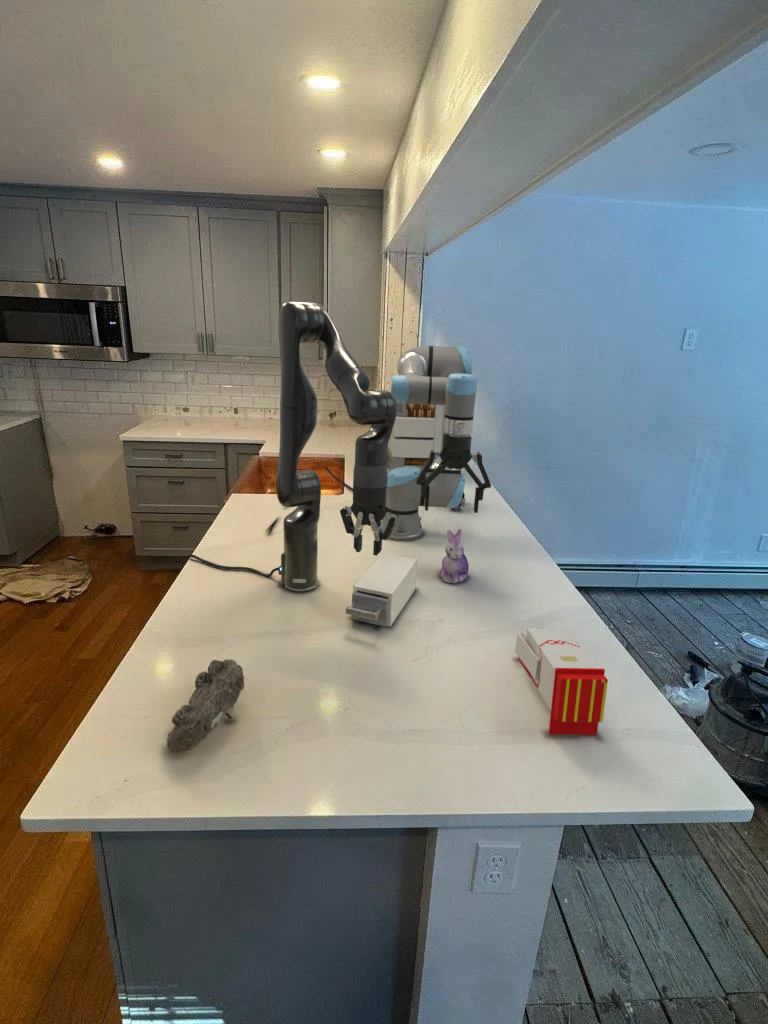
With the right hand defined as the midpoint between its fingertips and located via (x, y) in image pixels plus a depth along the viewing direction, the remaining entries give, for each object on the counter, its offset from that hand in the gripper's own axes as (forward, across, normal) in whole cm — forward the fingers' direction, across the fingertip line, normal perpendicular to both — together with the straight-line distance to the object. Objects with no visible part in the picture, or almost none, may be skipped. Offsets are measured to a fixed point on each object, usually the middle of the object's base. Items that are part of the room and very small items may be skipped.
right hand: (450, 510), depth 157 cm
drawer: (+22, -19, -18) cm, 34 cm away
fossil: (+23, -49, -60) cm, 81 cm away
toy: (+23, +19, -47) cm, 55 cm away
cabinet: (+23, -17, -12) cm, 31 cm away
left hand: (+2, -22, -27) cm, 35 cm away
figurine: (+23, +3, +5) cm, 24 cm away
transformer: (+23, -2, +118) cm, 120 cm away
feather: (+23, -57, +45) cm, 76 cm away
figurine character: (+23, +10, +70) cm, 74 cm away
